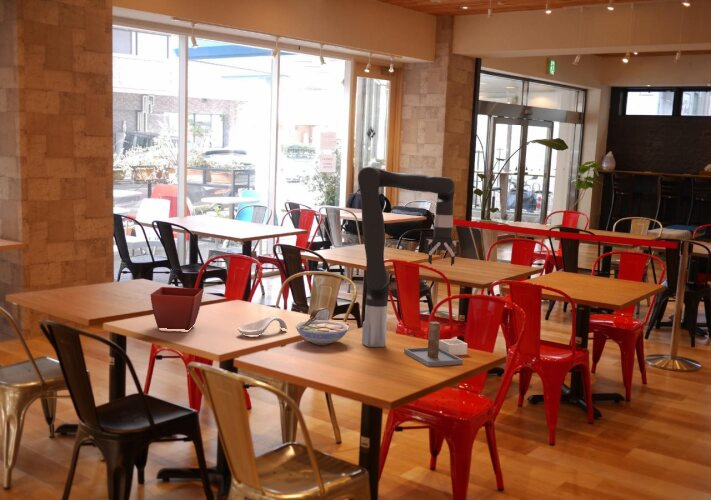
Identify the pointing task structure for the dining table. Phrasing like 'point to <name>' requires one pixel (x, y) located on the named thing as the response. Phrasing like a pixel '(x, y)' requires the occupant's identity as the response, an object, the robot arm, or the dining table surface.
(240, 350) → the dining table surface
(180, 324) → the plant pot
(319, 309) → the soup spoon
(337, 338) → the ramen bowl
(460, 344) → the square frame
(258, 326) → the spoon rest
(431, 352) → the peg
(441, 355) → the tray
